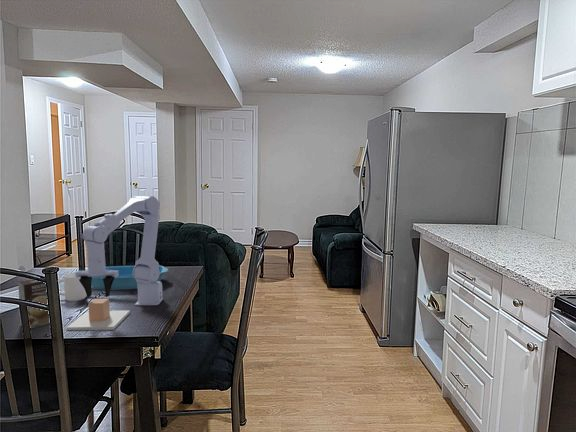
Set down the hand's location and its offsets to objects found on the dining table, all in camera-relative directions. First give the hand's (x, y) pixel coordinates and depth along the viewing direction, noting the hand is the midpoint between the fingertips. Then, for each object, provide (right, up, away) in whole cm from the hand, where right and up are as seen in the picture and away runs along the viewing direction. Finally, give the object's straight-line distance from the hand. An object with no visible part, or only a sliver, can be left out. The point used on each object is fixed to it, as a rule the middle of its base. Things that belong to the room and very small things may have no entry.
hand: (98, 296), depth 149 cm
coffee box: (-21, -10, -1) cm, 23 cm away
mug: (-24, -6, +26) cm, 36 cm away
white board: (0, -9, +1) cm, 9 cm away
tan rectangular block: (0, -8, +1) cm, 8 cm away
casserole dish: (-8, -4, +47) cm, 48 cm away
